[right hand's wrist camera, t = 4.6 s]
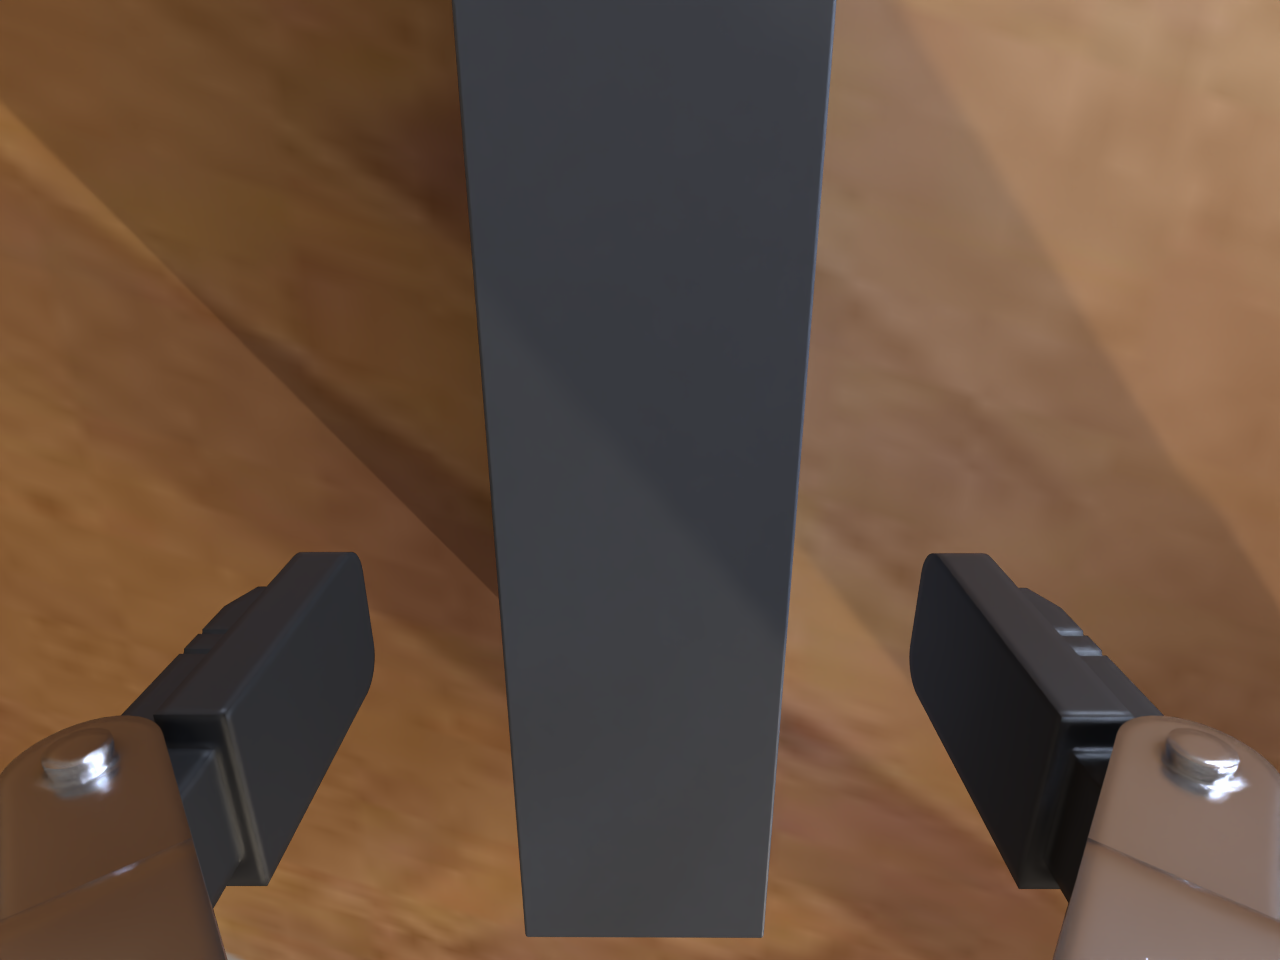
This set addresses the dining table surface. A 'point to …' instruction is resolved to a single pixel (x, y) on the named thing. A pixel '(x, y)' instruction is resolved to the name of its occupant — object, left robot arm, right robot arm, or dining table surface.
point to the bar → (644, 431)
